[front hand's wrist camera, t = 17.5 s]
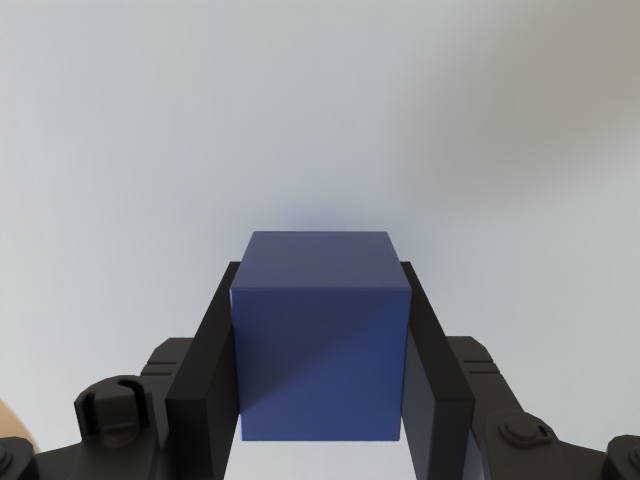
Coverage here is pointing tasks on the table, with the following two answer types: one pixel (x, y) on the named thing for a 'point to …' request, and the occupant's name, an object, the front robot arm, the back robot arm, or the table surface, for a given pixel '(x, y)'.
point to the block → (320, 337)
